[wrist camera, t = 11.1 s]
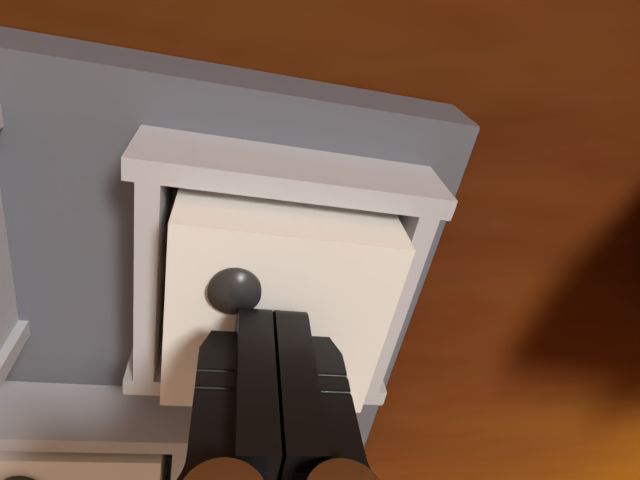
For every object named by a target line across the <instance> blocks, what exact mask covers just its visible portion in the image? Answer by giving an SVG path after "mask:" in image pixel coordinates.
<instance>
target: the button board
mask: <svg viewBox="0 0 640 480" xmlns="http://www.w3.org/2000/svg"><path fill="white" fill-rule="evenodd" d="M479 130H480V126H478V125H477V124H476V123H475V122H474V121H472V120H471V119H470V118H469V117H467V116H466V115H465V114H464V113H462V112H461V111H460V110H459V109H458V108H456V107H455V106H454V105H453V104H447V103H441V102H435V101H430V100H424V99H418V98H412V97H407V96H401V95H395V94H389V93H384V92H378V91H372V90H366V89H361V88H355V87H349V86H343V85H337V84H332V83H326V82H320V81H314V80H309V79H303V78H297V77H291V76H286V75H280V74H274V73H268V72H262V71H257V70H251V69H245V68H239V67H234V66H228V65H222V64H216V63H211V62H205V61H199V60H193V59H188V58H182V57H176V56H170V55H164V54H159V53H153V52H147V51H141V50H136V49H130V48H124V47H118V46H113V45H107V44H101V43H95V42H89V41H84V40H78V39H72V38H66V37H61V36H55V35H49V34H43V33H38V32H32V31H26V30H20V29H15V28H9V27H3V26H0V451H23V452H75V453H126V454H168V458H167V475H166V480H177V478H178V477H179V475H180V473H181V472H182V470H183V467H184V464H185V461H186V456H187V448H188V439H189V431H190V422H191V413H192V406H168V405H160V387H161V365H162V343H163V322H164V300H165V278H166V256H167V235H168V222H169V219H170V215H171V212H172V209H173V205H174V202H175V199H176V195H177V192H178V189H179V188H185V189H194V190H202V191H210V192H218V193H226V194H234V195H242V196H251V197H259V198H267V199H275V200H283V201H291V202H299V203H308V204H316V205H324V206H332V207H340V208H348V209H356V210H365V211H373V212H381V213H389V214H397V216H398V218H399V220H400V222H401V224H402V225H403V227H404V229H405V231H406V233H407V235H408V237H409V239H410V241H411V243H412V244H413V246H414V248H415V250H416V251H415V254H414V257H413V260H412V263H411V266H410V269H409V272H408V275H407V277H406V280H405V283H404V286H403V289H402V292H401V295H400V298H399V301H398V304H397V307H396V310H395V313H394V316H393V319H392V322H391V324H390V327H389V330H388V333H387V336H386V339H385V342H384V345H383V348H382V351H381V354H380V357H379V360H378V363H377V366H376V368H375V371H374V374H373V377H372V380H371V383H370V386H369V389H368V392H367V395H366V398H365V401H364V404H363V407H362V410H361V412H360V413H356V416H357V420H358V424H359V429H360V433H361V438H362V442H363V446H364V445H365V443H366V440H367V437H368V434H369V432H370V429H371V426H372V423H373V421H374V418H375V415H376V412H377V410H378V407H379V405H383V403H384V400H385V397H386V395H387V391H386V385H387V382H388V379H389V377H390V374H391V371H392V368H393V366H394V363H395V360H396V357H397V355H398V352H399V349H400V346H401V344H402V341H403V338H404V335H405V333H406V330H407V327H408V324H409V322H410V319H411V316H412V313H413V311H414V308H415V305H416V302H417V300H418V297H419V294H420V292H421V289H422V286H423V283H424V281H425V278H426V275H427V272H428V270H429V267H430V264H431V261H432V259H433V256H434V253H435V250H436V248H437V245H438V242H439V239H440V237H441V234H442V231H443V228H444V226H445V223H446V221H451V219H452V216H453V213H454V210H455V208H456V205H457V202H458V201H457V200H456V199H455V195H456V193H457V190H458V187H459V184H460V182H461V179H462V176H463V173H464V171H465V168H466V165H467V162H468V160H469V157H470V154H471V151H472V149H473V146H474V143H475V140H476V138H477V135H478V132H479Z"/></svg>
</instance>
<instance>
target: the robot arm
mask: <svg viewBox="0 0 640 480" xmlns="http://www.w3.org/2000/svg"><path fill="white" fill-rule="evenodd" d="M350 392H351V390H350V385H349V381H348V378H347V372H346V368H345V363H344V359H343V355H342V353H341V352H340V351H339V349H338V348H337V347H336V345H335V344H334V343H333V341H332V340H331V339H330V337H320V336H312V334H311V328H310V322H309V316H308V313H307V312H298V311H283V310H274V311H273V312H272V310H266V309H252V308H238V312H237V319H236V327H235V332H231V331H214V330H211V332H210V333H209V335H208V336H207V337H206V339H205V340H204V342H203V343H202V344H201V346H200V347H199V354H198V362H197V371H196V379H195V388H194V396H193V405H192V413H191V422H190V431H189V439H188V448H187V456H186V461H185V464H184V467H183V470H182V472H181V473H180V475H179V477H178V478H177V480H380V479H379V477H378V476H377V475H376V474H375V473H374V472H373V471H372V470H371V469H370V467H369V465H368V462H367V459H366V455H365V451H364V446H363V442H362V438H361V433H360V429H359V424H358V420H357V416H356V411H355V407H354V403H353V398H352V395H351V394H350Z"/></svg>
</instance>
